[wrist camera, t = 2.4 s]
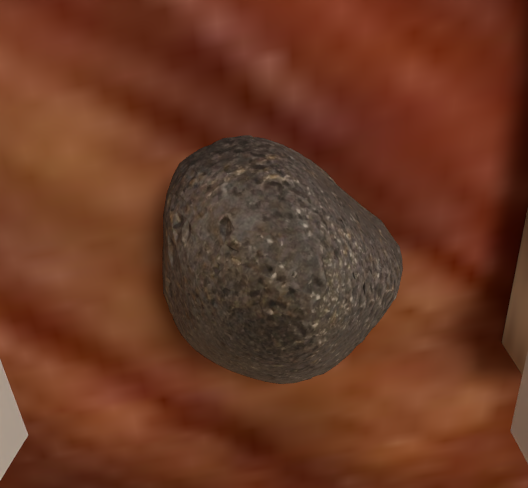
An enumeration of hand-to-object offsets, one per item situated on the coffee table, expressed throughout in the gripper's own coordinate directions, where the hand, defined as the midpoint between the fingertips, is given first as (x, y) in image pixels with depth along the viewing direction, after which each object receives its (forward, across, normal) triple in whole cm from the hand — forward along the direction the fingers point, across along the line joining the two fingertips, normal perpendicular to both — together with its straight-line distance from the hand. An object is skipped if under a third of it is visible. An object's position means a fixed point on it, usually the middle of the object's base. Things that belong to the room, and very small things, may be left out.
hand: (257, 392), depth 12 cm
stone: (+9, 0, 0) cm, 9 cm away
